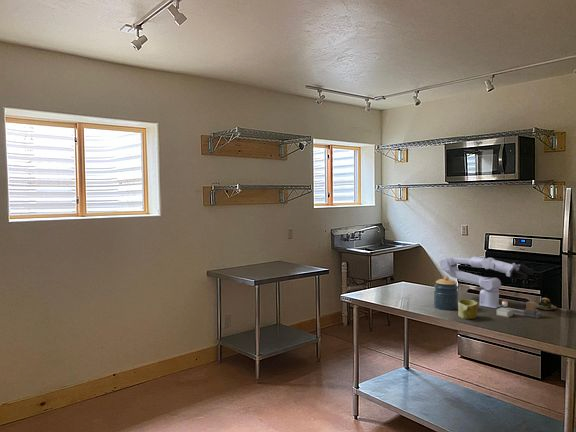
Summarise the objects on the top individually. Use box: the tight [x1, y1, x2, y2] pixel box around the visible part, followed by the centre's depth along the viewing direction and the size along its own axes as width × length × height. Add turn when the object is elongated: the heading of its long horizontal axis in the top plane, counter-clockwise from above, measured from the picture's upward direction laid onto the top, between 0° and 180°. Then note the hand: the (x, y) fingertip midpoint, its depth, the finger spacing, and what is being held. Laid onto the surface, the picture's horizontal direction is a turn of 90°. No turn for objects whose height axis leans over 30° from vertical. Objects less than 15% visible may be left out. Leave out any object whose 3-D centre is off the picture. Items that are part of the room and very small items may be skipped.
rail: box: [500, 305, 542, 319], centre depth 238 cm, size 18×5×3 cm, turn 42°
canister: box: [433, 275, 460, 311], centre depth 253 cm, size 13×13×18 cm
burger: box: [536, 295, 558, 312], centre depth 250 cm, size 12×12×8 cm
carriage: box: [523, 300, 539, 318], centre depth 234 cm, size 5×6×7 cm
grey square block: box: [495, 307, 514, 318], centre depth 237 cm, size 6×6×3 cm
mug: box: [457, 298, 479, 320], centre depth 233 cm, size 12×10×10 cm
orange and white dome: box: [501, 300, 509, 307], centre depth 236 cm, size 3×3×2 cm
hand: (530, 274), depth 239 cm, fingers open, 7 cm apart
